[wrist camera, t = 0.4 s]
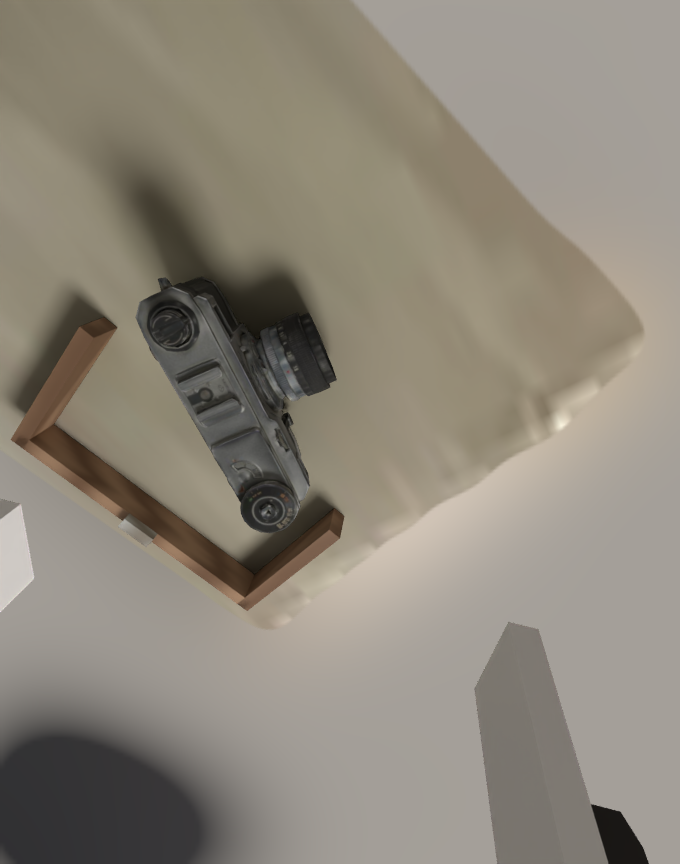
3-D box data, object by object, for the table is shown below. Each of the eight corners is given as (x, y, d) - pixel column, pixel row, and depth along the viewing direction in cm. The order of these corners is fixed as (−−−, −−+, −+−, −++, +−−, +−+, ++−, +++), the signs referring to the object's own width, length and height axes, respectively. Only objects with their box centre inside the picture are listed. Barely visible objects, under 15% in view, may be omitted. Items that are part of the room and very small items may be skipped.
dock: (36, 424, 41) (3, 444, 37) (104, 317, 35) (72, 329, 32) (256, 587, 46) (244, 617, 43) (344, 516, 41) (338, 544, 37)
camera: (369, 440, 39) (389, 501, 29) (271, 482, 40) (261, 554, 30) (274, 231, 32) (262, 224, 23) (159, 286, 33) (102, 301, 24)
